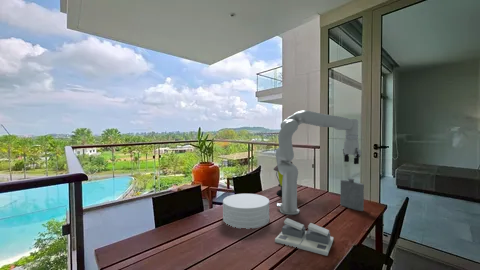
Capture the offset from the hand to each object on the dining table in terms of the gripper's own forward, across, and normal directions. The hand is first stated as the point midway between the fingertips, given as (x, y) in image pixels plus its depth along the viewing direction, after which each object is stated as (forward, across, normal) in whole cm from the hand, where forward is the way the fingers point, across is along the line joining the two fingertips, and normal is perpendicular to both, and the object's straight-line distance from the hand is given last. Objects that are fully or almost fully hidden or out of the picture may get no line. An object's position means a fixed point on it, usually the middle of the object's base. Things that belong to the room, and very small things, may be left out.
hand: (351, 162), depth 156 cm
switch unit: (+31, +35, -52) cm, 70 cm away
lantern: (+31, -39, -31) cm, 58 cm away
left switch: (+25, +30, -55) cm, 68 cm away
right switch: (+25, +38, -46) cm, 65 cm away
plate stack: (+32, +2, -73) cm, 80 cm away
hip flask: (+31, -1, +1) cm, 31 cm away
